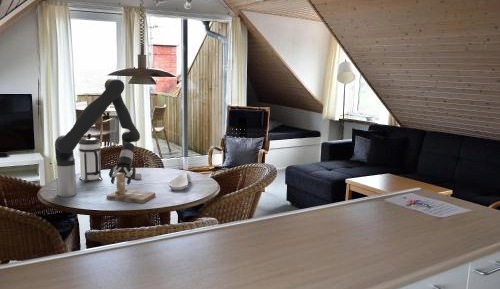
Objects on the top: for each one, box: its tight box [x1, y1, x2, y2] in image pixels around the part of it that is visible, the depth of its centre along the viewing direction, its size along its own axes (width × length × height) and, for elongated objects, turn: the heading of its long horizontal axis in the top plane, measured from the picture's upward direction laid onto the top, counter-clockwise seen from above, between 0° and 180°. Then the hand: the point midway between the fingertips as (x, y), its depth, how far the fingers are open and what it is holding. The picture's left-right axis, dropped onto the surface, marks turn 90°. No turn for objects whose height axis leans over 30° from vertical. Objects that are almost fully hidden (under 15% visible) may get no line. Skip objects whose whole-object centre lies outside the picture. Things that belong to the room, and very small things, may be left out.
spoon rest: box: [167, 172, 192, 191], centre depth 255 cm, size 24×12×7 cm, turn 170°
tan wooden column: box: [114, 172, 128, 194], centre depth 232 cm, size 5×5×11 cm
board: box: [106, 189, 156, 204], centre depth 230 cm, size 22×14×2 cm, turn 75°
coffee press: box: [78, 133, 104, 184], centre depth 261 cm, size 17×16×30 cm
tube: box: [113, 166, 143, 180], centre depth 277 cm, size 5×5×25 cm
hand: (120, 183), depth 231 cm, fingers open, 8 cm apart
